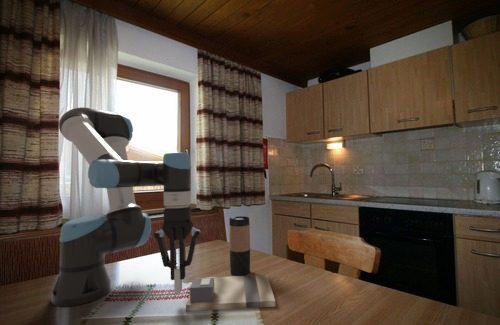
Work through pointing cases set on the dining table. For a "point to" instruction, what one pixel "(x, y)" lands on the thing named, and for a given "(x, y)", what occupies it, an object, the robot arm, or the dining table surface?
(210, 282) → the grey small block
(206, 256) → the dining table surface
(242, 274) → the travel mug
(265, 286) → the panel
